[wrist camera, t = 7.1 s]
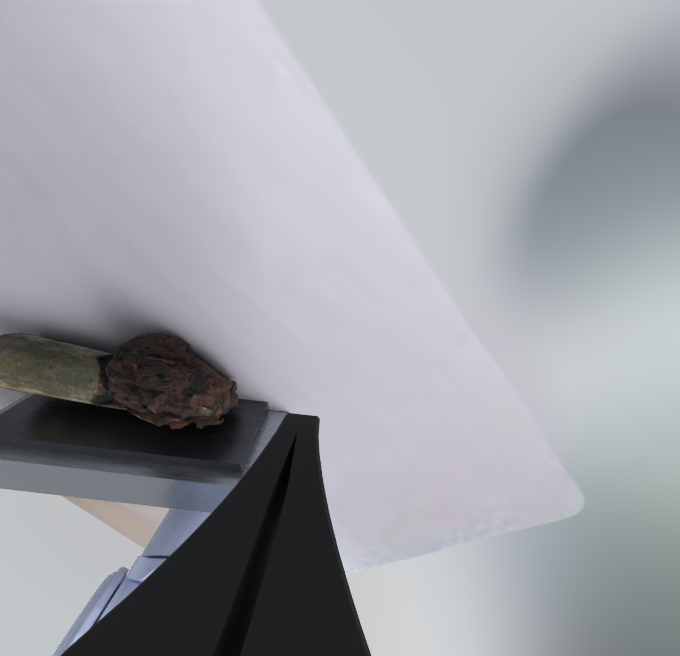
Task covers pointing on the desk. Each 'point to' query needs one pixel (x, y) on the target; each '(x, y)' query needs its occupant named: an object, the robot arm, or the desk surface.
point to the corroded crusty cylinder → (121, 377)
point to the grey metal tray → (128, 453)
